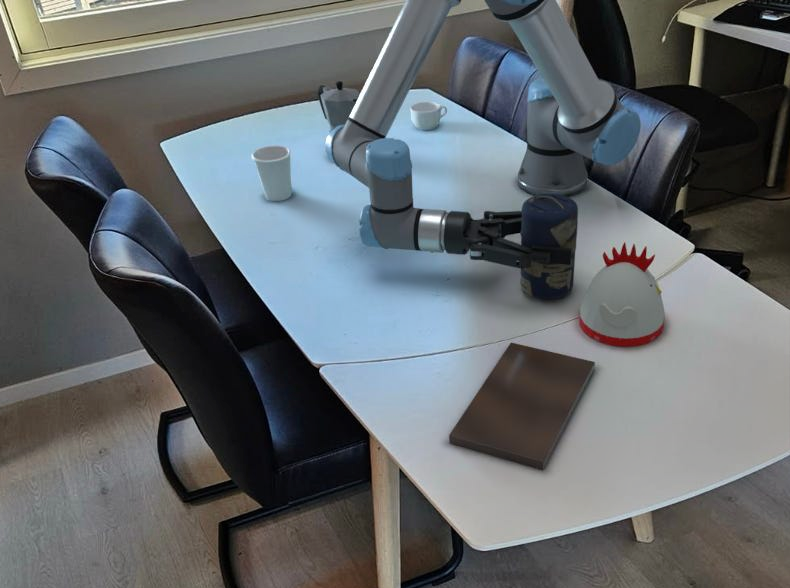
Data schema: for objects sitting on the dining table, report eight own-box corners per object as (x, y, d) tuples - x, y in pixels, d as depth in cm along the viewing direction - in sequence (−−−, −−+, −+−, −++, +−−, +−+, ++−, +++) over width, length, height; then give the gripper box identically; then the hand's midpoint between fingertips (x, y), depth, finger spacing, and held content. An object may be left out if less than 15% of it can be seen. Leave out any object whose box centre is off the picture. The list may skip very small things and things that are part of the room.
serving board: (510, 349, 136) (510, 342, 135) (594, 369, 131) (595, 361, 130) (449, 443, 118) (448, 435, 117) (543, 469, 113) (543, 461, 112)
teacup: (420, 135, 210) (418, 114, 207) (406, 125, 216) (404, 105, 213) (454, 126, 214) (453, 106, 211) (440, 117, 219) (439, 97, 216)
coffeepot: (380, 156, 200) (373, 82, 189) (349, 169, 195) (340, 93, 184) (340, 140, 209) (331, 68, 199) (309, 152, 204) (299, 78, 193)
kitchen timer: (655, 353, 133) (667, 272, 124) (571, 338, 137) (576, 259, 129) (668, 307, 144) (679, 229, 135) (589, 294, 148) (595, 218, 139)
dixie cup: (293, 184, 189) (287, 142, 183) (300, 199, 183) (293, 156, 177) (256, 190, 187) (248, 148, 181) (262, 206, 181) (254, 163, 175)
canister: (538, 309, 145) (541, 215, 134) (509, 284, 152) (511, 193, 141) (583, 294, 148) (590, 201, 138) (554, 270, 155) (558, 180, 144)
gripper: (460, 222, 158) (579, 231, 154) (433, 282, 141) (566, 294, 137) (459, 185, 154) (581, 193, 150) (431, 243, 137) (568, 254, 132)
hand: (574, 241), depth 143 cm, fingers closed on canister, 9 cm apart
